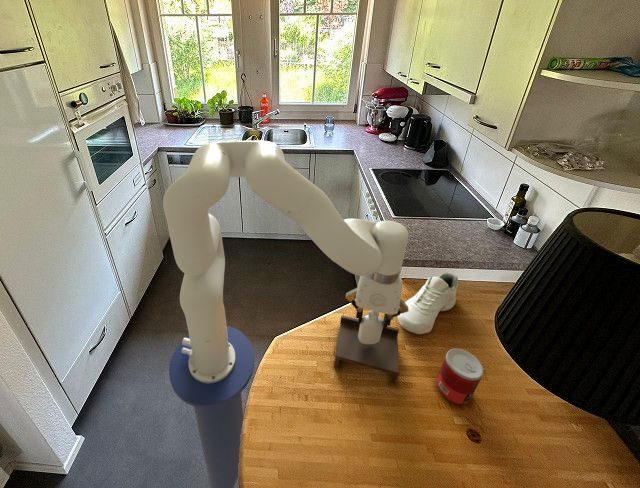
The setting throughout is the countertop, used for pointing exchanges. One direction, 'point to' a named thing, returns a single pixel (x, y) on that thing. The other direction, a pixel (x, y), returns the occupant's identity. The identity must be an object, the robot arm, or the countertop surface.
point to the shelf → (368, 348)
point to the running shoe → (429, 303)
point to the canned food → (459, 376)
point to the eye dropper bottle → (370, 328)
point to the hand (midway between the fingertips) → (372, 322)
